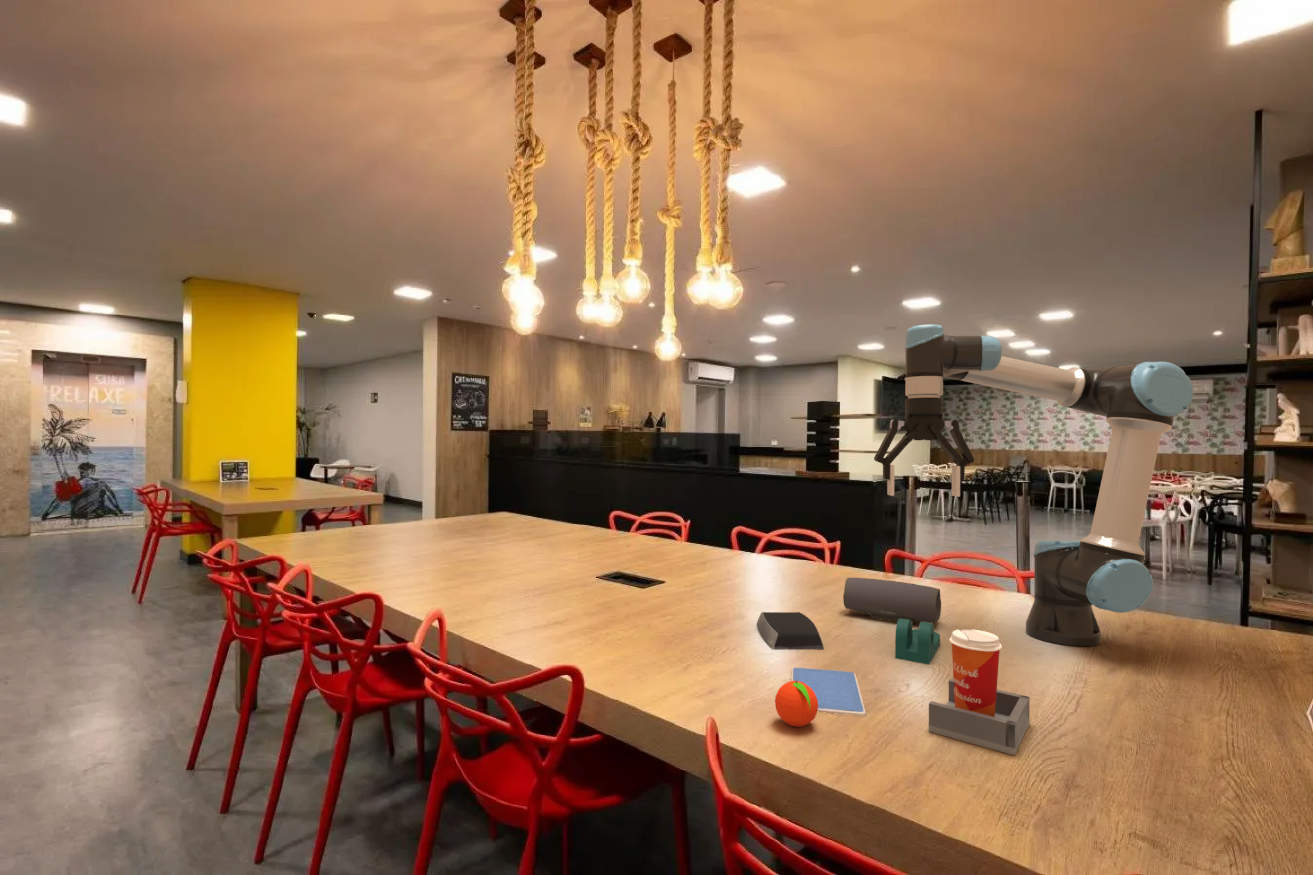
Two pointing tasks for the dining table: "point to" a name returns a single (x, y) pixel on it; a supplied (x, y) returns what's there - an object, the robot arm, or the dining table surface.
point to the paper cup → (975, 670)
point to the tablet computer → (832, 690)
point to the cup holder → (983, 721)
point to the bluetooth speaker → (892, 599)
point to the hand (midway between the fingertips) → (923, 495)
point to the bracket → (916, 641)
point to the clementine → (796, 703)
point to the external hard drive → (788, 631)
